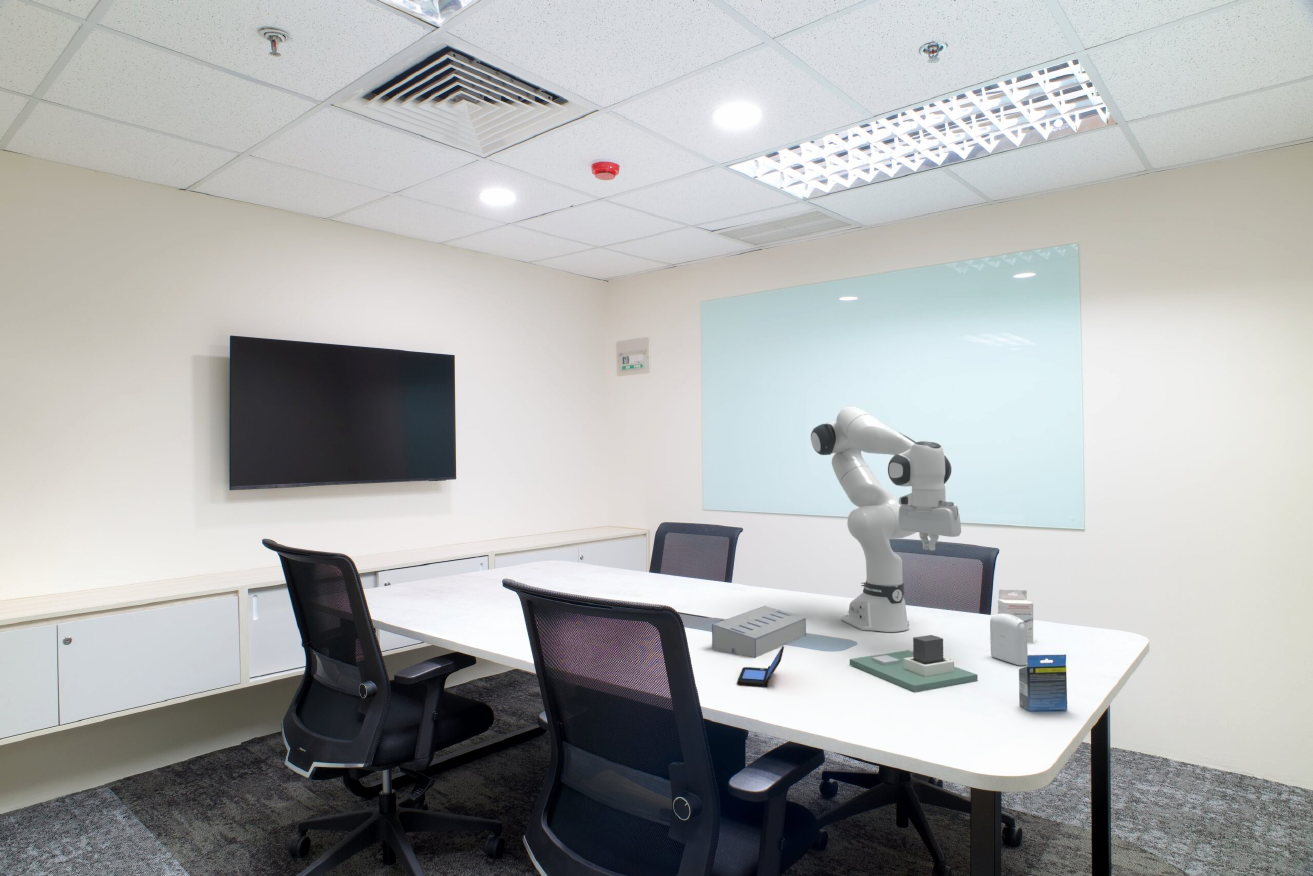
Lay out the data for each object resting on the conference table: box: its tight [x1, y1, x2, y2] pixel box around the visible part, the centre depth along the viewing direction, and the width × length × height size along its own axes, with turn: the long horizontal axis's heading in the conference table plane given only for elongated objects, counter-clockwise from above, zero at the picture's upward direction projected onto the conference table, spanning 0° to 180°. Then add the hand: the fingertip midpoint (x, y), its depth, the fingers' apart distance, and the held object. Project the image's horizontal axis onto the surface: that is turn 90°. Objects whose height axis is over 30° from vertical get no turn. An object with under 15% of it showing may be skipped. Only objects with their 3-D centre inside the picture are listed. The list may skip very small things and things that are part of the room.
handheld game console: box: [736, 645, 785, 688], centre depth 185 cm, size 12×11×7 cm
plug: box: [912, 634, 944, 665], centre depth 187 cm, size 4×7×8 cm, turn 114°
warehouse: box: [711, 605, 807, 659], centre depth 220 cm, size 30×14×8 cm, turn 142°
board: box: [849, 649, 978, 693], centre depth 189 cm, size 24×20×4 cm
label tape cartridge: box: [1018, 653, 1068, 712], centre depth 163 cm, size 9×4×12 cm, turn 92°
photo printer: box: [989, 613, 1029, 666], centre depth 199 cm, size 10×4×12 cm, turn 20°
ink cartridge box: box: [997, 588, 1034, 644], centre depth 219 cm, size 9×5×15 cm, turn 84°
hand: (929, 549), depth 205 cm, fingers closed
